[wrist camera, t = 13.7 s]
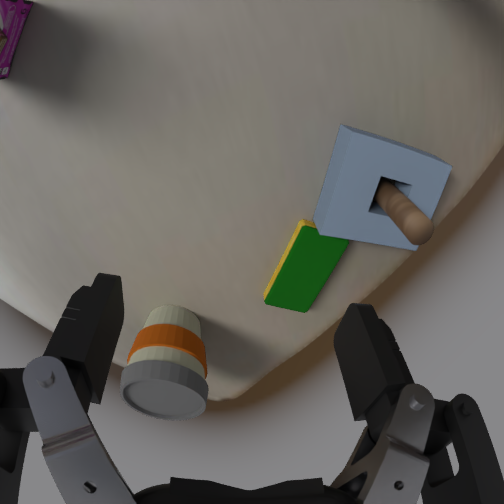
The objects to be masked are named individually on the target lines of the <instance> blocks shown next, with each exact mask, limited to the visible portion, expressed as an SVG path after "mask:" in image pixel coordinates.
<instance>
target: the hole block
mask: <svg viewBox="0 0 504 504" xmlns="http://www.w3.org/2000/svg"><path fill="white" fill-rule="evenodd" d="M451 168H452V166H451V165H450V164H448V163H446V162H445V161H443V160H442V159H440V158H438V157H437V156H435V155H432V154H429V153H427V152H424V151H422V150H419V149H416V148H414V147H411V146H408V145H405V144H402V143H400V142H397V141H394V140H391V139H388V138H385V137H382V136H379V135H375V134H372V133H369V132H366V131H363V130H359V129H356V128H352V127H349V126H345V125H342V124H341V125H340V128H339V132H338V136H337V139H336V143H335V146H334V150H333V153H332V157H331V160H330V164H329V167H328V171H327V174H326V177H325V181H324V184H323V187H322V191H321V194H320V197H319V201H318V204H317V207H316V210H315V214H314V217H313V221H314V223H315V225H316V227H317V229H318V232H319V234H320V235H325V236H331V237H338V238H344V239H350V240H356V241H362V242H368V243H374V244H380V245H386V246H392V247H397V248H403V249H409V250H414V251H416V250H417V248H418V246H419V245H413V244H411V243H410V242H409V240H408V239H407V238H406V237H405V235H404V234H403V233H402V232H401V230H400V229H399V228H398V227H397V226H396V224H395V223H394V222H393V221H392V220H391V218H390V217H389V216H388V215H387V214H386V213H385V211H384V210H383V209H382V208H381V207H380V206H379V204H378V203H376V202H372V200H373V197H374V194H375V191H376V188H377V186H378V183H379V180H380V177H381V176H383V177H386V178H390V179H393V180H396V182H395V186H396V187H397V188H398V189H399V190H400V191H401V192H402V193H403V194H404V195H405V196H406V197H408V198H409V199H410V200H411V201H412V202H413V203H414V204H415V205H416V206H417V207H418V208H419V209H420V210H421V211H422V212H423V213H424V214H425V215H426V216H427V217H428V218H429V219H430V220H431V218H432V215H433V213H434V211H435V208H436V206H437V204H438V201H439V199H440V196H441V194H442V191H443V189H444V186H445V184H446V181H447V179H448V176H449V173H450V171H451Z"/></svg>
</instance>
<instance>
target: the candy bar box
mask: <svg viewBox="0 0 504 504" xmlns="http://www.w3.org/2000/svg"><path fill="white" fill-rule="evenodd" d="M32 4H33V2H32V1H27V0H0V79H5V78H7V77H8V75H9V71H10V67H11V63H12V60H13V56H14V53H15V50H16V46H17V43H18V41H19V38H20V35H21V32H22V29H23V26H24V24H25V21H26V18H27V16H28V13H29V11H30V9H31V6H32Z"/></svg>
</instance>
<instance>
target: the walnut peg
mask: <svg viewBox="0 0 504 504" xmlns="http://www.w3.org/2000/svg"><path fill="white" fill-rule="evenodd" d="M373 199H374V200H375V201H376V202H377V203H378V204H379V206H380V207H381V208H382V209H383V210H384V211H385V213H386V214H387V215H388V216H389V217H390V218H391V220H392V221H393V222H394V223H395V224H396V226H397V227H398V228H399V229H400V230H401V232H402V233H403V234H404V235H405V237H406V238H407V239H408V240H409V242H410V243H411V244H413V245H422V244H424V243H426V242H427V241H428V240H429V239H430V238H431V236H432V234H433V231H434V225H433V222H432V221H431V220H430V219H429V218H428V217H427V216H426V215H425V214H424V213H423V212H422V211H421V210H420V209H419V208H418V207H417V206H416V205H415V204H414V203H413V202H412V201H411V200H410V199H409V198H408V197H406V196H405V195H404V194H403V193H402V192H401V191H400V190H399V189H398V188H397V187H396V186H395V185H394V184H392V183H391V182H390V181H389V180H388V179H387V178H386V177H383V176H381V177H380V180H379V183H378V186H377V188H376V191H375V194H374V197H373Z"/></svg>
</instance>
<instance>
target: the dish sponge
mask: <svg viewBox="0 0 504 504" xmlns="http://www.w3.org/2000/svg"><path fill="white" fill-rule="evenodd" d="M348 244H349V241H348V239H344V238H338V237H331V236H325V235H320V234H319V232H318V229H317V227H316V225H315V223H313V222H310V221H307V220H304V219H303V220H300V221H299V224H298V226H297V228H296V230H295V232H294V234H293V236H292V238H291V240H290V242H289V244H288V246H287V248H286V250H285V252H284V254H283V256H282V258H281V260H280V262H279V264H278V266H277V268H276V270H275V272H274V274H273V276H272V278H271V280H270V282H269V284H268V286H267V288H266V290H265V292H264V302H265V304H267V305H271V306H276V307H280V308H285V309H289V310H294V311H298V312H303V313H305V312H307V311H308V310H309V308H310V307H311V305H312V303H313V302H314V300H315V299H316V297H317V295H318V294H319V292H320V291H321V289H322V287H323V286H324V284H325V283H326V281H327V279H328V278H329V276H330V274H331V273H332V271H333V269H334V268H335V266H336V265H337V263H338V261H339V259H340V258H341V256H342V254H343V253H344V251H345V249H346V248H347V246H348Z"/></svg>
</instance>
